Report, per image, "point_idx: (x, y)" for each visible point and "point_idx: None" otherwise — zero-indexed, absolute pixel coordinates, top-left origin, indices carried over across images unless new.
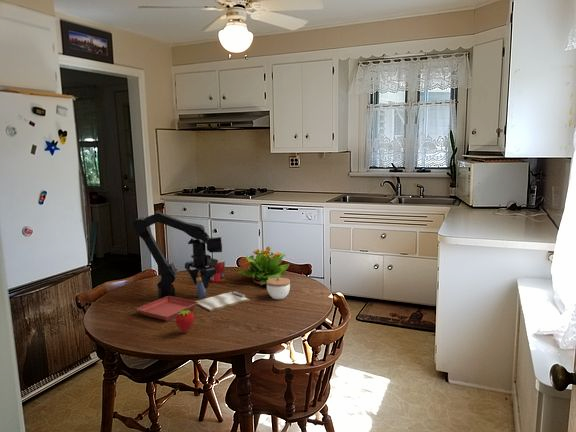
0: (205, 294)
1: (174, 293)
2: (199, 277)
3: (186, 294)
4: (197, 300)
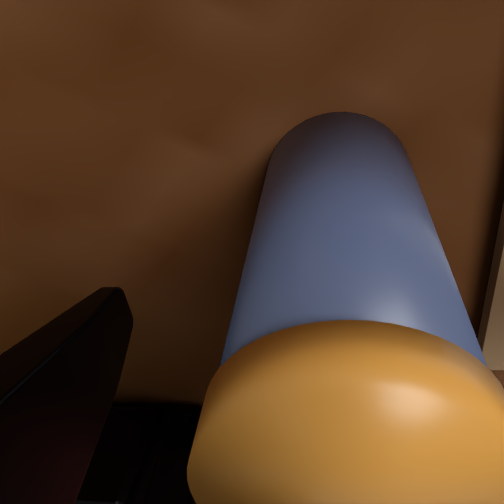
0: (409, 164)
1: (147, 441)
2: (274, 501)
3: (105, 283)
4: (493, 321)
